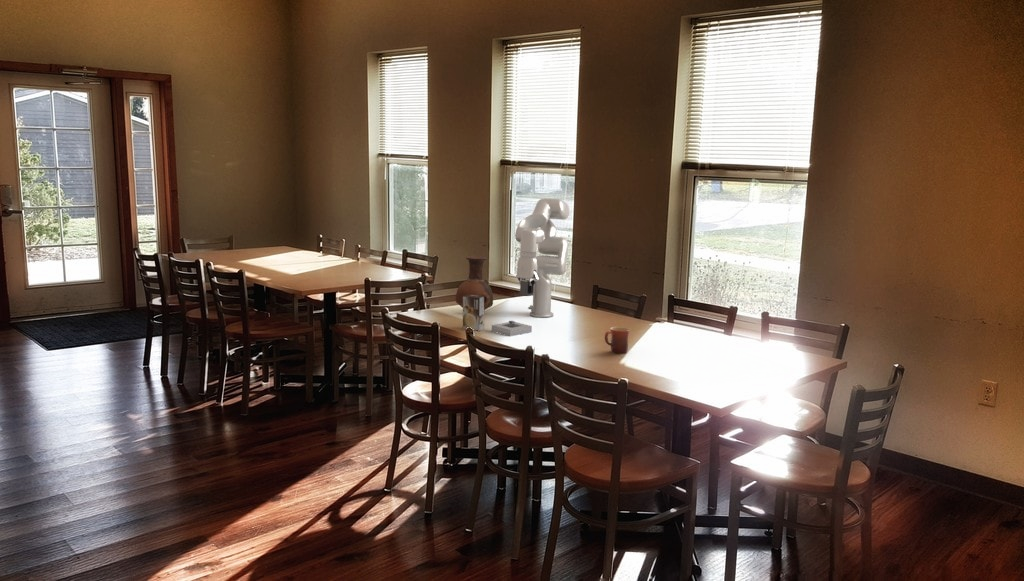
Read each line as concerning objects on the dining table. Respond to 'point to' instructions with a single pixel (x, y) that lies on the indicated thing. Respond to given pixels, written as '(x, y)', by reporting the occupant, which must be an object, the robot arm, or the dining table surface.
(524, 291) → the plug
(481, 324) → the coffee box
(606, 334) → the mug
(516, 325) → the socket plate
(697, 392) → the dining table surface
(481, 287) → the vase
